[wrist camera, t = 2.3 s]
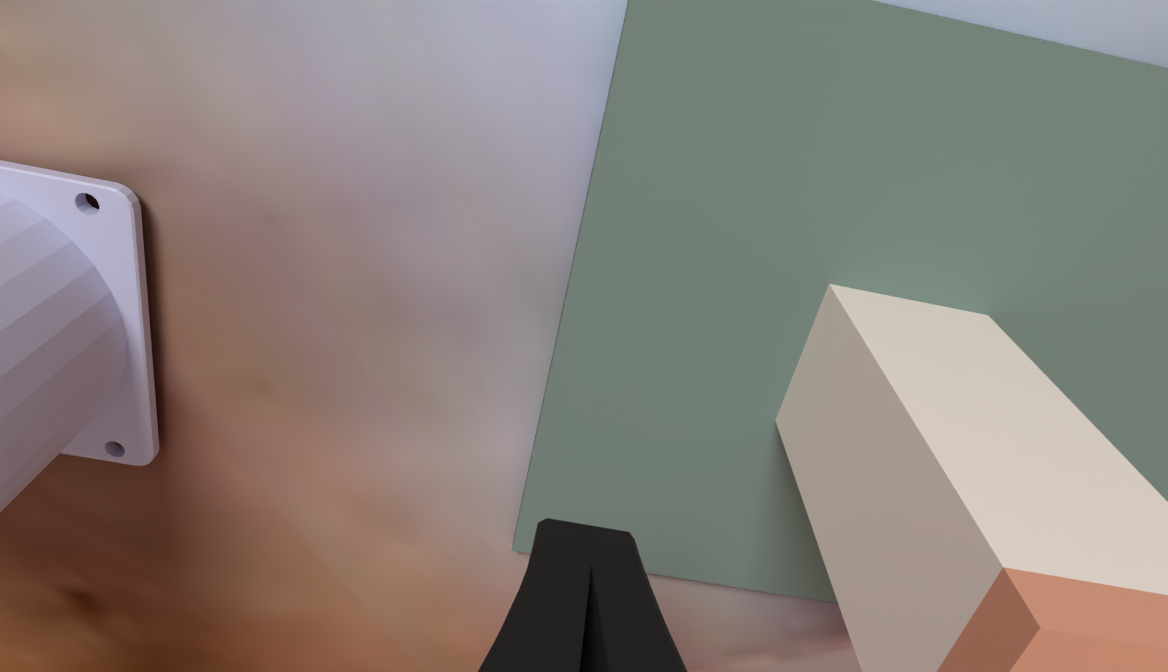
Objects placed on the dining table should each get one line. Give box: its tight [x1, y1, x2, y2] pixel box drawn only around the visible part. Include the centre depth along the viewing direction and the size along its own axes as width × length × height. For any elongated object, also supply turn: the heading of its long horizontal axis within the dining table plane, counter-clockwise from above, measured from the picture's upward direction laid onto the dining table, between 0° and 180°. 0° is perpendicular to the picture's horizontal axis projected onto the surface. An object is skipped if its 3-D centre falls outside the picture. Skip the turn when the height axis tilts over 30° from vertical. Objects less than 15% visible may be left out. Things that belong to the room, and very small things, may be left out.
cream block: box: [775, 284, 1168, 672], centre depth 15 cm, size 4×4×10 cm
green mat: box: [512, 0, 1168, 604], centre depth 20 cm, size 22×16×1 cm
